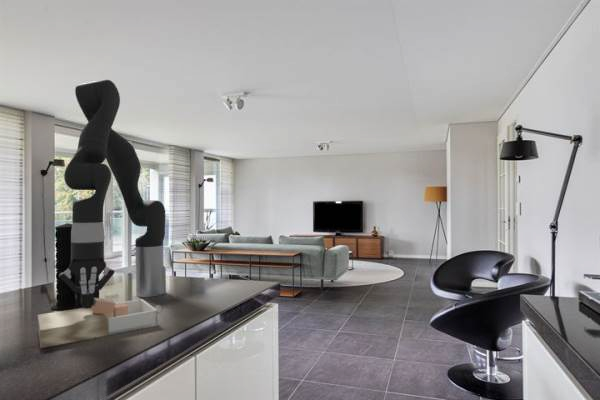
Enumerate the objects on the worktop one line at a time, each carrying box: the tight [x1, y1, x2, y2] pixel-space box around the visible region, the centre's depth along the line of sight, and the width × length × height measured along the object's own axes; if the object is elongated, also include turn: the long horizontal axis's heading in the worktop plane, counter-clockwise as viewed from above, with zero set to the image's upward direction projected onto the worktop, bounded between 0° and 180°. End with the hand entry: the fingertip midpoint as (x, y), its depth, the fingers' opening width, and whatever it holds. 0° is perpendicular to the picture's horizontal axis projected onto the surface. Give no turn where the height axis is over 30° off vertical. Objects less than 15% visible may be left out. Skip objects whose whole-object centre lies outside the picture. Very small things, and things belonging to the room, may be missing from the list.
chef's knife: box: [153, 304, 163, 315], centre depth 118 cm, size 19×1×3 cm
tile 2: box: [113, 302, 128, 317], centre depth 106 cm, size 4×4×3 cm
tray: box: [105, 298, 159, 336], centre depth 107 cm, size 12×16×4 cm
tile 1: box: [91, 297, 116, 315], centre depth 104 cm, size 4×4×3 cm
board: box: [37, 307, 110, 349], centre depth 100 cm, size 14×16×4 cm
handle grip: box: [50, 222, 76, 312], centre depth 126 cm, size 10×26×10 cm
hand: (87, 307), depth 102 cm, fingers closed
